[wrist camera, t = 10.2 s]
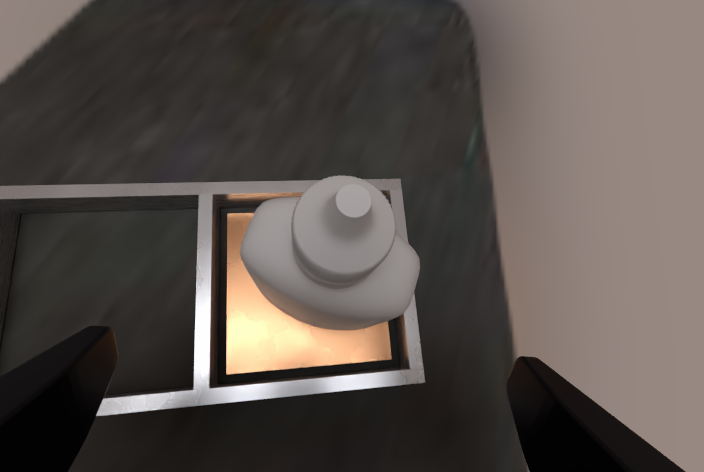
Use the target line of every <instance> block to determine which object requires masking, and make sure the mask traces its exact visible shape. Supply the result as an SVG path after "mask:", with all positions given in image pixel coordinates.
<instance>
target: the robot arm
mask: <svg viewBox="0 0 704 472" xmlns="http://www.w3.org/2000/svg"><path fill="white" fill-rule="evenodd" d="M118 359H119V356H118V349H117V344H116V339H115V333H114V330H113V329H112V328H111V327H106V326H89V327H87V328H85V329H83V330H81V331H80V332H78V333H76V334H74V335H72V336H71V337H69V338H67V339H65V340H64V341H62V342H60V343H58V344H57V345H55V346H53V347H51V348H49V349H48V350H46V351H44V352H42V353H41V354H39V355H37V356H35V357H34V358H32V359H30V360H28V361H26V362H25V363H23V364H21V365H19V366H18V367H16V368H14V369H12V370H11V371H9V372H7V373H5V374H3V375H2V376H0V472H68V470H69V469H70V467H71V465H72V463H73V461H74V460H75V458H76V456H77V454H78V452H79V451H80V449H81V447H82V445H83V443H84V441H85V439H86V437H87V435H88V433H89V431H90V428H91V426H92V424H93V422H94V419H95V417H96V415H97V412H98V410H99V407H100V405H101V403H102V400H103V398H104V396H105V393H106V391H107V389H108V386H109V384H110V382H111V379H112V377H113V375H114V372H115V370H116V368H117V364H118ZM506 390H507V395H508V398H509V402H510V406H511V410H512V413H513V417H514V421H515V425H516V428H517V432H518V436H519V440H520V443H521V447H522V450H523V454H524V457H525V460H526V463H527V465H528V468H529V471H530V472H685V471H684V470H683V469H681V468H680V467H679V466H677V465H676V464H675V463H674V462H672V461H670V459H668V458H667V457H666V456H664V455H663V454H662V453H661V452H659V451H658V450H657V449H655V448H654V447H653V446H651V445H650V444H649V443H648V442H646V441H645V440H644V439H642V438H641V437H640V436H638V435H637V434H636V433H634V432H633V431H632V430H630V429H629V428H628V427H627V426H625V425H624V424H623V423H622V422H620V421H619V420H618V419H616V418H615V417H614V416H612V415H611V414H610V413H608V412H607V411H606V410H604V409H603V408H602V407H601V406H599V405H598V404H597V403H595V402H594V401H593V400H592V399H590V398H589V397H588V396H586V395H585V394H584V393H582V392H581V391H580V390H579V389H577V388H576V387H575V386H573V385H572V384H571V383H569V382H568V381H567V380H566V379H564V378H563V377H562V376H560V375H559V374H558V373H556V372H555V371H554V370H553V369H551V368H550V367H549V366H547V365H546V364H545V363H543V362H542V361H541V360H539V359H538V358H535V357H525V356H521V357H519V358H517V360H516V361H515V364H514V366H513V368H512V370H511V372H510V374H509V377H508V379H507V382H506Z"/></svg>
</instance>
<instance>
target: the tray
mask: <svg viewBox="0 0 704 472" xmlns="http://www.w3.org/2000/svg"><path fill="white" fill-rule="evenodd" d="M365 181H366V182H370V184H371V185H374V186H375V188H378V189H379V191H381V192H382V194H383V195H385V196H386V199H387V200H389V202H388V203H389V204H391V208H392V209H393V211H392V212H393V213H394V214H395V216H394V218H395V219H396V221H395V223H396V227H395V228H396V230H397V231H396V233H398V234H399V235H400V236H401V237H402V238H403V239H404V240H405V241H406V242H407V243H408V238H407V230H406V222H405V214H404V206H403V197H402V189H401V181H400V179H365ZM314 183H318V180H310V181H255V182H200V183H145V184H90V185H35V186H0V343H1V337H2V331H3V324H4V318H5V311H6V305H7V299H8V292H9V286H10V280H11V273H12V267H13V260H14V254H15V248H16V241H17V235H18V228H19V222H20V216H21V213H49V212H85V211H120V210H156V209H192V208H198V244H197V280H196V316H195V353H194V387H186V388H175V389H164V390H154V391H143V392H133V393H122V394H112V395H105V396H104V398H103V400H102V403H101V405H100V407H99V410H98V412H97V415H96V416H103V415H112V414H122V413H132V412H142V411H152V410H161V409H171V408H181V407H191V406H201V405H210V404H220V403H230V402H240V401H250V400H259V399H269V398H279V397H289V396H299V395H308V394H318V393H328V392H338V391H348V390H357V389H367V388H377V387H387V386H397V385H406V384H416V383H425V377H424V369H423V361H422V353H421V345H420V336H419V328H418V320H417V312H416V304H415V295H414V294H413V297H412V300H411V302H410V305H409V306H408V308H407V309H406V311H405V312H404V313H403V314H402V315H400V316H398V317H396V318H395V328H396V337H397V346H398V356H399V365H400V367H397V368H386V369H376V370H365V371H355V372H344V373H333V374H323V375H312V376H302V377H291V378H281V379H270V380H260V381H249V382H238V383H228V384H218V333H219V249H220V208H228V207H259V206H260V205H261V204H262V203H263V202H265V201H268V200H270V199H275V198H283V197H301V196H302V193H304V192H306V189H309V188H310V186H312V185H314ZM253 215H254V213H233V214H227V364H226V374H237V373H248V372H259V371H270V370H281V369H292V368H303V367H314V366H325V365H336V364H347V363H358V362H369V361H380V360H391V359H392V357H391V347H390V338H389V328H388V321H386V322H383V323H380V324H377V325H374V326H371V327H367V328H364V329H359V330H332V329H325V328H320V327H316V326H313V325H310V324H307V323H304V322H302V321H299V320H297V319H295V318H293V317H291V316H289V315H288V314H286V313H284V312H283V311H281V310H280V309H279V308H277V307H276V306H275V305H273V304H272V303H271V302H270V301H269V300H268V299H266V297H265V296H264V295H263V294H262V293H261V292H260V290H259V289H258V287H257V286H256V284H255V283H254V281H253V279H252V278H251V276H250V274H249V273H248V271H247V269H246V267H245V265H244V263H243V261H242V259H241V257H240V248H241V243H242V240H243V237H244V235H245V232H246V230H247V228H248V225H249V223H250V221H251V219H252V217H253Z"/></svg>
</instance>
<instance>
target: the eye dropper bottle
mask: <svg viewBox="0 0 704 472" xmlns="http://www.w3.org/2000/svg"><path fill="white" fill-rule="evenodd" d="M388 202H389V200H387V199H386V196H385V195H383V194H382V192H381V191H379V189H378V188H375V186H374V185H371V184H370V182H366V181H365V180H362V179H361V178H356V177H351V176H345V175H343V176H340V175H338V176H333V177H328V178H323V180H318V183H314V185H312V186H310V188H309V189H306V192H304V193H302V196H301V197H283V198H275V199H270V200H268V201H265V202H263V203H262V204H261V205H260V206H259V207H258V208H257V209H256V211H255V213H254V215H253V217H252V219H251V221H250V223H249V225H248V228H247V230H246V232H245V235H244V237H243V240H242V243H241V248H240V257H241V259H242V261H243V263H244V265H245V267H246V269H247V271H248V273H249V274H250V276H251V278H252V279H253V281H254V283H255V284H256V286H257V287H258V289H259V290H260V292H261V293H262V294H263V295H264V296H265V297H266V299H268V300H269V301H270V302H271V303H272V304H273V305H275V306H276V307H277V308H279V309H280V310H281V311H283V312H284V313H286V314H288V315H289V316H291V317H293V318H295V319H297V320H299V321H302V322H304V323H307V324H310V325H313V326H316V327H320V328H325V329H332V330H359V329H364V328H367V327H371V326H374V325H377V324H380V323H383V322H386V321H389V320H391V319H394V318H396V317H398V316H400V315H402V314H403V313H404V312H405V311H406V309H407V308H408V306H409V305H410V302H411V300H412V297H413V294H414V290H415V287H416V283H417V279H418V275H419V271H420V260H419V257H418V255H417V254H416V252H415V250H414V249H413V248H412V247H411V246H410V245H409V244H408V243H407V242H406V241H405V240H404V239H403V238H402V237H401V236H400V235H399V234H398V233H396V231H397V230H396V228H395V227H396V223H395V221H396V219H395V218H394V216H395V214H394V213H393V212H392V211H393V209H392V208H391V204H389V203H388Z"/></svg>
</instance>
